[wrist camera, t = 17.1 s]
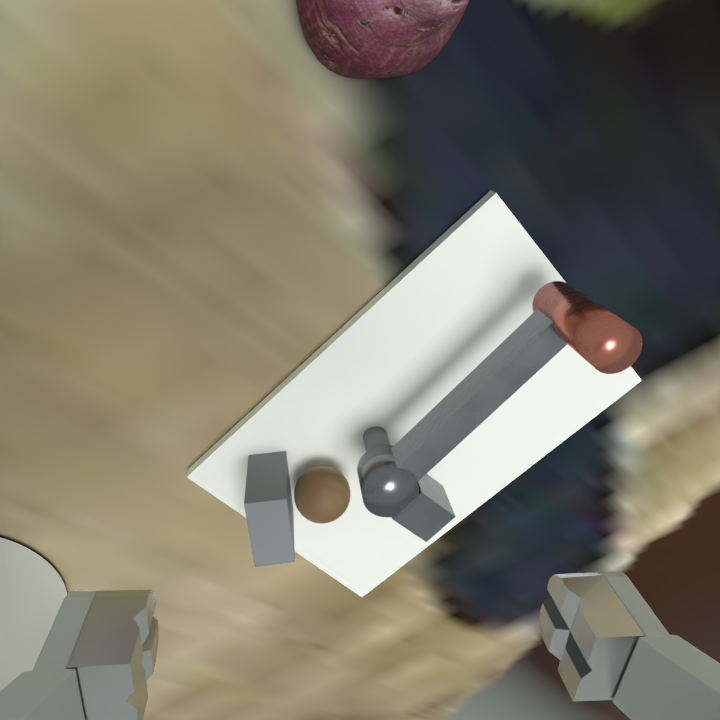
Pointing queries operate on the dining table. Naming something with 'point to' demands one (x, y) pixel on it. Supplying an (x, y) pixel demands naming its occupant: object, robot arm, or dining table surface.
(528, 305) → the board
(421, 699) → the dining table surface
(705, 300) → the dining table surface
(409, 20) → the vegetable
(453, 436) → the lever
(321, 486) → the brown ball
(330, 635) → the dining table surface
